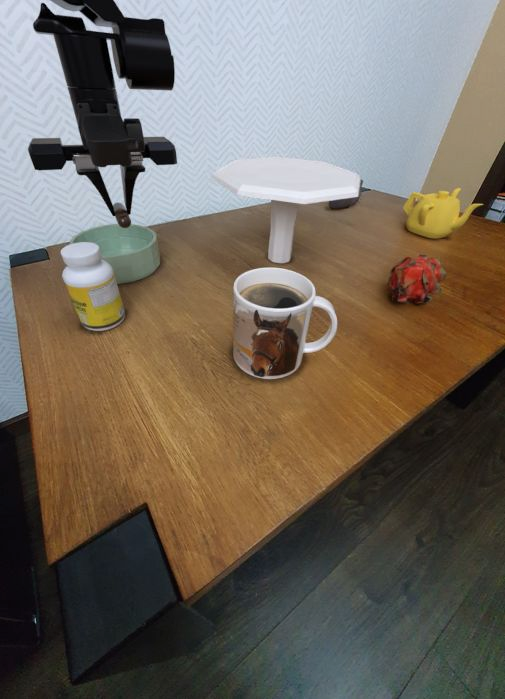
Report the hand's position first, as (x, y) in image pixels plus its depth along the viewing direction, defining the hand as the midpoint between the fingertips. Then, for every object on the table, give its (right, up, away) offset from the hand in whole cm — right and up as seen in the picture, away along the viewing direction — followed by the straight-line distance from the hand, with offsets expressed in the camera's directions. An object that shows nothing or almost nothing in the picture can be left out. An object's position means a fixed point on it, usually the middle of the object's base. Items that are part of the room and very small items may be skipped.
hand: (121, 214), depth 50 cm
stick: (0, -1, +1) cm, 1 cm away
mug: (+24, -23, -6) cm, 34 cm away
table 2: (+27, -2, +17) cm, 32 cm away
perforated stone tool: (+49, +22, +46) cm, 70 cm away
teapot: (+69, +10, +33) cm, 77 cm away
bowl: (-5, -5, +12) cm, 14 cm away
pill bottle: (-2, -17, -1) cm, 18 cm away
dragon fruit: (+50, -13, +7) cm, 52 cm away
